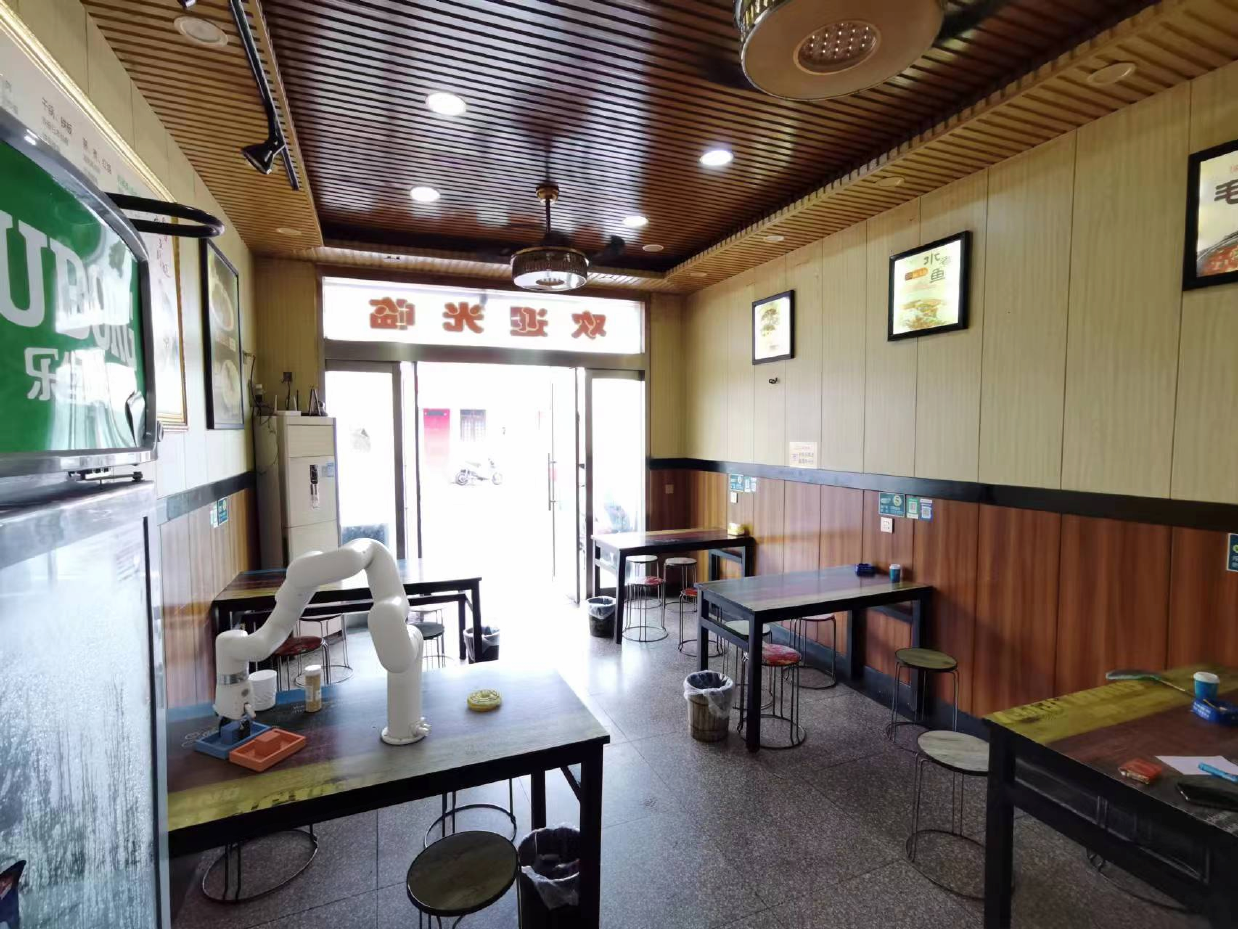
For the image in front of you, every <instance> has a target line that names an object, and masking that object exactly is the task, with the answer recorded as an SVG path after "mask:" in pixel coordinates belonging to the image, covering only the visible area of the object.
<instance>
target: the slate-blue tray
mask: <svg viewBox="0 0 1238 929" xmlns="http://www.w3.org/2000/svg"><path fill="white" fill-rule="evenodd" d="M245 721H246V719H245V718H243V719H242V722H243V723H244V722H245ZM268 731H272V726H269V725H266V724H263V723H259V722H256V721H253V722H252V725H250V736H249V737H247V738H245V739H243V740H241V741H239V742H238V743H236V744H234V745H232V746H229V745H226V744H223V743H221V737H219V729H218V730H216V731H214V732H212V733H210V734H208V735H205V736H203V737H201V738H198V739H197V740H195V742H194V743H195V751H198V752H201V753H204V754H207V755H210V756H213V757H215V758H219V759H222V760H227V759H230V758H229V752H231V751H233V750H235V749H237V748H239V747H241V746H243V745H245V744H247V743H249V742H251V741H252V740H254V738H256V737H258V736H260V735H262V734H264V733H266V732H268Z"/></svg>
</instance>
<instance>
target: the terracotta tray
mask: <svg viewBox="0 0 1238 929" xmlns="http://www.w3.org/2000/svg"><path fill="white" fill-rule="evenodd" d="M271 731H272V732H275V733H279V734H281V750H279V751H277V752H275V753H273V754H271V755H270V756H268V757H263V756H260V755H256V754H255V741H254V740H252V741H251V742H249V743H247V744H245V745H243V746H241V747H239V748H237V749H235V750H233V751H231V752H229V758H228V759H229V762H230V763H233V764H236V765H239V766H242V767H245V768H248V769H251V770H254V771H257V772H260V773H261V772H263V771H265V770H267V769H268V768H269V767H271V766H273V765H275V764H277V763H278V762H280V761H282V760H284V759H286V758H288V757H289V756H291V755H292V754H294V753H296V752H298V751H300V750H301V749H302V748H305V747H306V745H307V737H306V736H304V735H300V734H296V733H293V732H290V731H286V730H283V729H279V728H274V729H271Z"/></svg>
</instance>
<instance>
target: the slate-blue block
mask: <svg viewBox="0 0 1238 929" xmlns="http://www.w3.org/2000/svg"><path fill="white" fill-rule="evenodd" d="M238 729H240V728H239V725H238V722H237V720H234V721H231V723H229V724H227V725H225V726H223V727H221V743H223V744H226V745H229V746H232V745H234V744H236V743H238Z"/></svg>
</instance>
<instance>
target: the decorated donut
mask: <svg viewBox="0 0 1238 929" xmlns="http://www.w3.org/2000/svg"><path fill="white" fill-rule="evenodd" d="M502 699H503V696H502V694H501V693H500V691H498V690H495V689H481V690H480V689H479V690H475V691H473V692H471V693H470V694H468V695H467V699H466V702H467V705H468V707H469V708H470V709H471V710H473V711H474V712H491V711H492V710H494V709H497V707H499V706H500V705H501V703H502Z"/></svg>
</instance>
